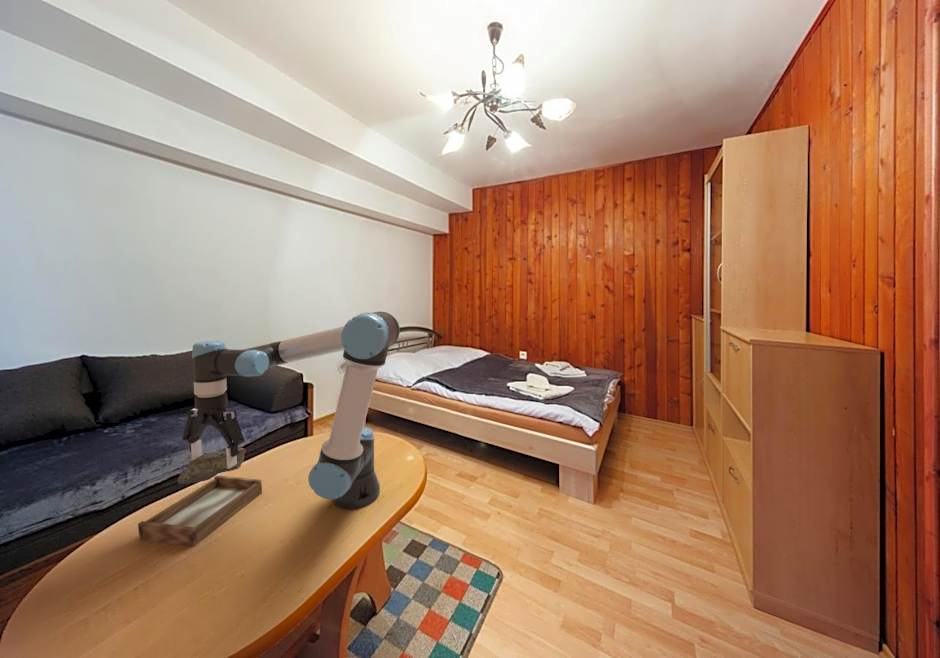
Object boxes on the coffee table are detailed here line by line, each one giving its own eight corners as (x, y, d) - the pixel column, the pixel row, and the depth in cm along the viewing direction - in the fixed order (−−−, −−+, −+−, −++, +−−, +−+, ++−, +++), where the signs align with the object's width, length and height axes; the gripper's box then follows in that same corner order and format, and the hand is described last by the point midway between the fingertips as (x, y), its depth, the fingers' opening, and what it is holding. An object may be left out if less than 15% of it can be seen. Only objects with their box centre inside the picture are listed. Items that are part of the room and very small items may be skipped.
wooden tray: (262, 493, 110) (261, 479, 110) (193, 546, 87) (192, 530, 86) (217, 488, 112) (217, 475, 112) (139, 539, 89) (138, 523, 88)
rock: (239, 443, 107) (251, 444, 101) (241, 464, 106) (253, 466, 101) (170, 462, 93) (180, 464, 87) (172, 486, 92) (182, 490, 87)
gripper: (257, 392, 97) (259, 461, 99) (188, 387, 100) (192, 454, 102) (236, 400, 90) (239, 475, 92) (162, 394, 92) (167, 466, 95)
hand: (214, 464), depth 97 cm, fingers closed on rock, 11 cm apart
